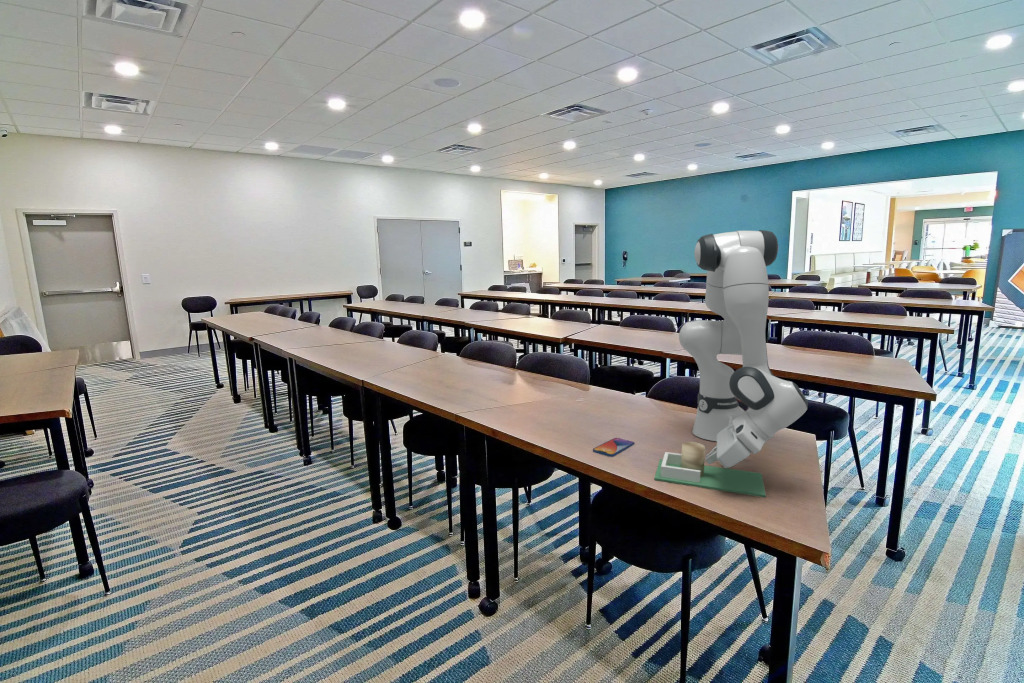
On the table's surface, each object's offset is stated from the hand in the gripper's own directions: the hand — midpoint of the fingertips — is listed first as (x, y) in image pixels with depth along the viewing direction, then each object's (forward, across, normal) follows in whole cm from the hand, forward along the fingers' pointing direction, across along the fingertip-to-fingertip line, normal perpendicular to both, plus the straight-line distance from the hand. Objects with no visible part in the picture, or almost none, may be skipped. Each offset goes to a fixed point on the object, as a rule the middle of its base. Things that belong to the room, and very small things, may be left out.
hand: (706, 460), depth 135 cm
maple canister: (+6, 0, 0) cm, 6 cm away
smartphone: (+23, -13, -16) cm, 31 cm away
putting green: (+3, 0, +4) cm, 5 cm away
